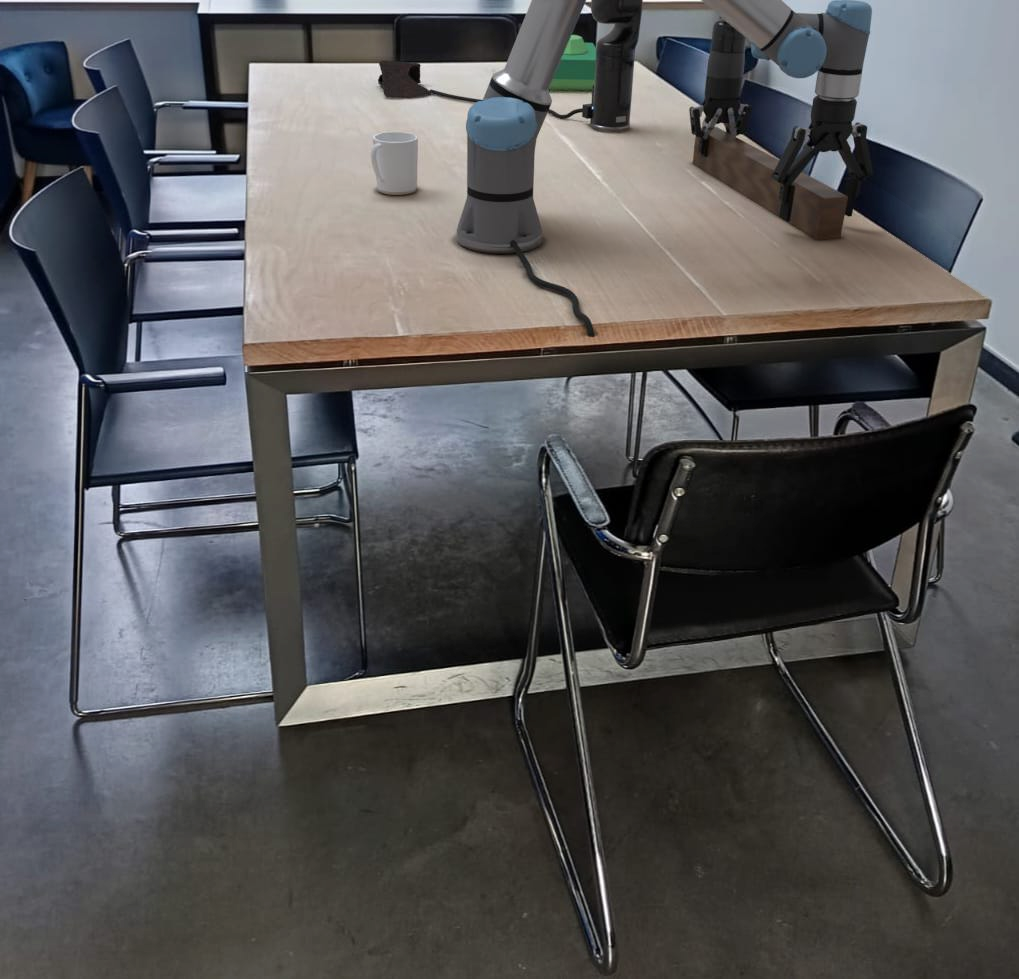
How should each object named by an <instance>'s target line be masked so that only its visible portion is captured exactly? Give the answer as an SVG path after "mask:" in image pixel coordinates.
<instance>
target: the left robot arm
mask: <svg viewBox="0 0 1019 979" xmlns="http://www.w3.org/2000/svg"><path fill="white" fill-rule="evenodd" d="M586 1H587V0H530V4H529V6H528V9H527V11H526V13H525V16H524V19H523V21H522V24H521V26H520V28H519V31H518V34H517V35H516V39H515V41H514V44H513V46H512V49H511V51H510V53H509V55H508V59H507V61H506V63H505V66H504V68H503V69H501V70H498V71H497V72H494V73H492V76H491V78H490V81H489V83H488V85H487V88H486V90H485V93H484V95H483V98H482V99H481V100H482V101H478V102H476V103H474V102H473V104H472V105H471V106H470V107H469V109H468V111H467V117H466V122H465V131H466V192H467V193H466V198H465V202H464V205H463V209H462V211H461V214H460V218H459V220H458V224H457V227H456V241H457V243H458V244H459V245H461V246H462V247H464V248H466V249H468V250H470V251H475V252H479V253H486V254H497V255H499V254H500V255H506V254H507V255H508V254H516V255H517V257H518V258H519V260H520V261H521V263H522V265H523V267H524V269H525V272H526V275H527V277H528V278H529V279H530V280H531V281H532V283H535V285H538V286H540V287H543V288H545V289H548V290H552V291H555V292H558V293H561V294H562V295H565V296H567V297H568V298H569V299H570V300H571V303H572V305H571V306H572V312H573V314H574V315H575V317H576V318H577V319H578V320H580V321H582V322H583V324H584V326H585V329H586V333H587V336H588V337H589V338H594V337H595V330H594V326H593V323H592V321H591V319H590V318H589V316H587V315H586V314H584V313H583V312H582V311H581V309H580V305H579V303H580V302H579V298H578V296H577V295H576V293H574V292H573V291H572V290H571V289H569V288H567V287H565V286H563V285H560V284H556V283H553V282H549V281H546V280H544V279H541V278H540V277H538V276H537V275H535V273H534V271H533V269H532V266H531V264H530V262H529V261H528V259H527V257H526V255H525V254H524V252H527V251H530V250H533V249H536V248H538V247H539V246H540V245H541V244H542V243H543V229H542V224H541V221H540V220H541V219H540V218H539V214H538V213H539V212H538V210H537V206H536V204H535V199H534V184H535V181H534V180H535V157H536V156H535V154H536V146H537V139H538V136H539V135H540V132H541V129H542V127H543V124H544V123H545V120H546V118H547V115H548V114H549V113H548V111H549V109H551V106H552V104H553V99H552V96H551V93H550V89H549V87H550V84H551V82H552V80H553V77H554V75H555V72H556V70H557V68H558V65H559V63H560V61H561V58H562V56H563V54H564V51H565V49H566V47H567V44H568V42H569V40H570V37H571V35H573V33H574V30H575V28H576V25H577V23H578V21H579V18H580V16H581V13H582V12H583V9H584V6H585V5H586ZM700 1H701V2H703V4H705V5H706V6H707V7H708V8H709V9H711V10H712V11H713V12H715V13H716V15H718V16H719V17H720V18H723V19H724V20H725V21H726V22H728V23H729V24H730V25H731V26H732V27H734V28H735V29H736V30H737V31H738V32H739V33H741V34H742V35H743V36H744V37H745V38H746V40H747V41H749V42H750V49H751V56H752V57H753V58H754V59H757V60H758V59H759V60H766V61H770V60H771V61H772V62H773V63H775V65H777V66H778V68H779V69H780V70H781V71H782V73H784V74H785V75H786V76H788V77H791V78H792V79H793V78H794V79H806V78H809V77H812V76H813V75H814V74H816V73H817V75H816V81H815V87H814V94H816V95H815V96H814V97H813V99H812V105H811V111H810V124H809V126H808V127H801V126H798V125H795V126H793V128H792V132H791V137H790V139H789V142H788V143H787V146H786V148H785V149H784V151H783V153H782V155H781V157H780V159H779V160H780V161H779V162H778V164H777V166H776V168H775V170H774V172H773V174H772V176H771V178H772V179H773V180H775V181H777V182H778V183H780V190H779V197H778V199H779V201H780V202H781V208H780V215H779V216H778V218H779V219H781V220H782V221H784V222H786V223H789V222H790V218H791V212H792V205H793V199H794V192H795V186H794V185H792V183H793V182H794V181H795V179H796V178H797V177H798V176H799V174H800V173H801V172H803V171H804V169H805V168H806V167H807V166H808V165H809V163H810V162H811V161H812V159H814V157H816V156H818V155H819V154H820V153H827V152H833V153H834V152H838V153H839V155H840V157H841V159H842V161H843V163H844V165H845V167H846V169H847V170H848V172H849V174H850V177H846V180H845V185H844V191H843V194H844V195H846V196H848V200H847V205H846V211H845V216H846V217H847V218H849V217H853V212H854V207H855V201H856V198H858V197H859V195H860V192H861V186H862V183H865V182H866V180H867V177H868V178H869V177H872V176H873V174H874V169H873V164H872V159H871V156H870V155H871V154H870V150H869V145H868V140H867V135H868V126H867V125H866V124H863V123H861V122H855V123H854V124H853V121H854V120H855V116H856V110H857V104H858V101H857V99H856V98H857V97H858V96H859V94H860V89H861V83H862V76H863V69H864V63H865V57H866V52H867V49H868V48H867V47H868V42H869V37H870V35H871V25H872V17H873V8H872V5H871V4H869V3H868V2H865V1H861V0H831V1H830V2H829V3H828V5H827V8H826V10H825V12H821V13H809V12H808V13H806V12H805V13H803V12H795V10H793V9H792V8H791V7H790V6H788V4H786V3H785V2H784V1H783V0H700ZM851 136H852V138H853V145H854V148H855V153H856V154H855V155H856V158H855V156H854V153H853V151H852V148H851V146H850V144H849V142H848V139H849V138H850V137H851ZM807 137H808V138H809V139H808V138H807ZM807 139H808V140H807ZM806 140H807V141H806ZM805 141H806V142H805ZM804 143H805V144H804ZM802 146H803V147H802ZM801 149H802V150H801Z"/></svg>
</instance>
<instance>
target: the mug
mask: <svg viewBox="0 0 1019 979" xmlns="http://www.w3.org/2000/svg"><path fill="white" fill-rule="evenodd" d="M418 155H419V137H418V135H417V134H415V133H412V132H407V131H383V132H379V133H375V134H374V135H372V148H371V151H370V161H371V165H372V168H373V172H374V175H375V180H376V181H375V182H376V189H377V191H378V192H379V193H381V194H385V195H391V196H400V195H401V196H402V195H409V194H412V193H415V192H416V191H417V190H418V160H419V159H418V158H419V156H418Z"/></svg>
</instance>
